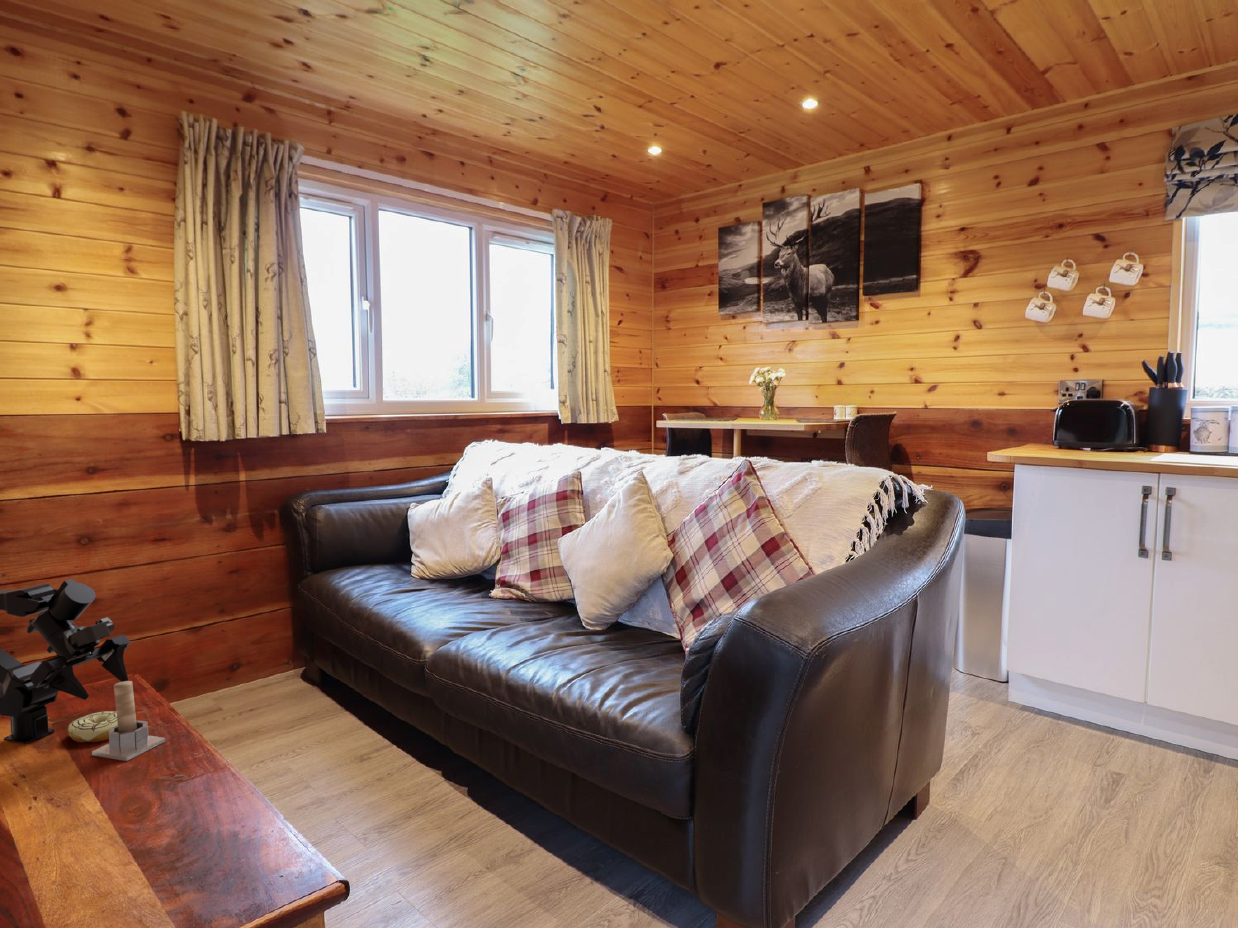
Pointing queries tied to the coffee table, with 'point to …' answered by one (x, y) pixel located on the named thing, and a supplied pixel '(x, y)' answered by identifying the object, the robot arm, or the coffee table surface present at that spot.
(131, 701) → the wooden post
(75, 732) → the decorated donut
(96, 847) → the coffee table surface
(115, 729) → the cup bracket
